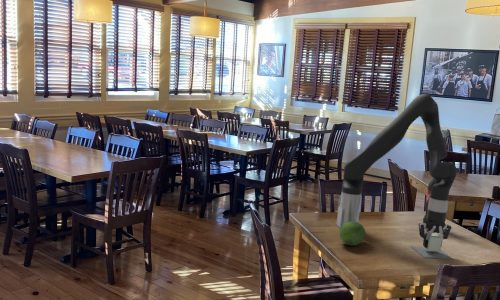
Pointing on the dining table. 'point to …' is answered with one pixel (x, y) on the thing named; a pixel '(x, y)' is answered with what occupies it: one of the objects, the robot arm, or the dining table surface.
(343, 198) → the robot arm
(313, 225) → the dining table surface
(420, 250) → the mat
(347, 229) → the fruit
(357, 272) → the dining table surface
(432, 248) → the block
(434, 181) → the cola bottle
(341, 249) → the dining table surface
